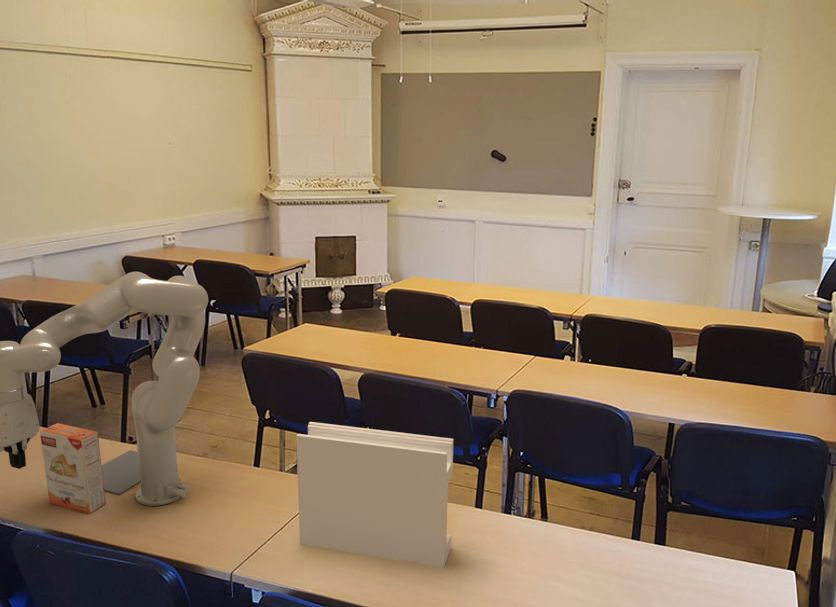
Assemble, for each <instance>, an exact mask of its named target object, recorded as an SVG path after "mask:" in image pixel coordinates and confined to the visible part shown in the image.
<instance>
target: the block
mask: <svg viewBox="0 0 836 607" xmlns="http://www.w3.org/2000/svg"><path fill="white" fill-rule="evenodd" d="M295 437H296V463H297V464H296V466H297V467H296V470H297V496H298V500H297V501H298V522H299V544H300V545H304V546H308V547H315V548H320V549H327V550H334V551H340V552H346V553H351V554H357V555H359V554H360V555H364V556H370V557H375V558H381V559H389V560H393V561H401V562H406V563H412V564H417V565H418V564H419V565H425V566H431V567H438V568H444V567H445V565H446V563H447V559H448V556H449V554H450V551H451V548H452V534H450V533H449V534H448V532H447V531H448V491H449V484H450V481H451V479H452V476H453V475H454V469H453V466H454V438H450V437H440V436H431V435H423V434H415V433H406V432H398V431H391V430H382V429H375V428H374V429H373V428H366V427H365V428H364V427H356V426H349V425H339V424H330V423H324V422H314V421H309V422H308V425H307V434H302V433H297V434H296V435H295Z"/></svg>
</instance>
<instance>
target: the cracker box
mask: <svg viewBox="0 0 836 607" xmlns="http://www.w3.org/2000/svg"><path fill="white" fill-rule="evenodd" d="M39 434H40V435H39V436H40V442H41V450H42V457H43V465H44V466H43V467H44V470H45V471H44V474H45V479H46V481H45V482H46V489H47V496H48V502H49V503H50V504H52V505H56V506H58V507H63V508H67V509H70V510H73V511H76V512H81V513H85V514H87V515H90V514H92V513H94V512H95V511H97V510H99V508H101V507H103V506H105V505H106V504H107V503H106V495H105V493H106V492H105V491H104V484H103V475H102V466H101V465H102V458H101V450H100V448H101V447H100V441H99V440H100V439H99V432H98V431H96V430H91V429H86V428H81V427H76V426H72V425H68V424H63V423H60V422H57V423H55V424H53V425H50V426H48V427H46V428H43V429H42V430H39Z"/></svg>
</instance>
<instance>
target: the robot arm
mask: <svg viewBox="0 0 836 607" xmlns="http://www.w3.org/2000/svg"><path fill="white" fill-rule="evenodd" d="M208 295H209V294H208V292H207V290H205V288H204V286H202V285H201V284H199V283H198V282H195V281H194V280H193V279H191V278H189V277H187V276H184V275H174V276H172V277H170V278H169V279H167V280H162V279H156V278H152V277H150V276H149V275H148V274H145V273H143V272H140V271H131V272H128V273H126V274H124V275H122V276H121V277H119V278H118V279H116V280H115V281H113V282H112V283H110V284H109V285H107V286H105V287H104V288H103V289H101V290H99V291H98V292H97V293H95V294H94V295H92V296H90V297H89V298H88V299H86V300H84V301H83V302H81V303H79V304H76V305H74V306H72V307H69V308H67V309H65V310H63V311H60V312H59V313H57V314H55V315H52V316H51V317H49V318H48V319H47V320H44V321H43V322H42V323H40V324H38V325H37V326H36V327H34V328H33V329H31V330H30V331H28V332H27V333H26V334H25V335H24V336H23V338H22V339H21V341H20V343H18V342H17V341H15V340H14V341H13V340H1V341H0V453H1V452H6V453H8V459H9V464H10V467H12V468H15V469H18V470H20V469H22V468H24V467H26V466H27V458H26V450H27V448H28V444H29V442H30V440H32V439H33V438H34V437H36V436H37V434H38V433H40V422H39V418H38V413H37V409H36V405H35V402H34V400H33V397H32V396H31V394H29V393H28V390H27V389H28V388H27V383H26V382H27V381H26V375H25V374H26V373H45V372H49V371H51V370H53V369H54V368H56V367H57V366H58V365H59V363H60V362H61V359H62V358H61V356H62V355H61V354H62V353H61V350H60V348H62V347H63V346H64V345H66V344H67V343H69V342H70V341H72V340H74V339H76V338H78V337H81V336H83V335H88V334H97V333H102V332H105V331H107V330H108V329H110V328H112V327H114V326H115V325H116V324H117V323H119V322H120V321H121V320H124V318H126V317H128V316H129V315H130V314H132V313H134V312H135V311H136V312H140V313H142V314H143V313H144V314H150V315H151V314H152V315H160V316H171V320H170V323H169V325H168V328H167V329H166V330H167V331H166V333H165V335H164V337H163V339H162V341H161V343H160V344H159V346H158V347H159V348H158V349H157V351H156V353H155V355H154V357H153V360H152V364H151V365H152V366H151V367H152V369H153V371H154V374H155V375H156V376H157V377H158V380H147V381H144V382H142V383H140V384H139V385H138V386H136V387H135V389H134V390H133V392H132V395H131V400H130V403H131V404H130V406H131V412H132V416H133V421H134V422H133V423H134V428H135V429H134V430H135V438H136V447H137V448H136V449H137V452H138V460H139V471H140V482H141V483H140V487H139V488H138V489H137V490H136V491H135V494H134V495H135V500H136V502H137V503H139V504H142V505H144V506H151V507H153V506H154V507H155V506H164V505H168V504H171V503H173V502H175V501H176V502H177V500H179V499H180V498H185V497H186V496H187V492H188V491H189V489H190V488H189V485H185V484H184V482H182V477H179V473H178V472H179V471H178V460H177V459H178V457H177V446H176V434H175V433H176V432H175V425H176V424H177V423H179V422H180V419H181V418H182V417H183V414H184V412H185V410H186V408H187V406H188V404H189V403H190V400H191V398H192V396H193V394H194V391H195V390H196V388H197V385H198V383H199V380H200V374H201V368H200V367H201V366H200V365H199V362H198V360H197V359H196V358H195V357H194V355H195V352H196V350H197V348H198V345H199V343H200V340H201V338H202V336H203V332H204V331H205V330H204V329H205V326H206V309H207V307H208V303H209V296H208Z"/></svg>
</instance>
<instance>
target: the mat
mask: <svg viewBox="0 0 836 607" xmlns="http://www.w3.org/2000/svg"><path fill="white" fill-rule="evenodd" d="M101 466H102V475H103V484H104V493H108V494H112V495H116V496H119V497H120V496H121V495H123V494H125V493H126V492H129V491H130V490H132V489H133V488H135V487H136V486H138V485H141V482H140V471H139V460H138V451H134V450H131V449H130V450H128V451H126V452H124V453H122V454H120V455H118V456H117V457H115V458H113V459H111V460H109V461H107V462H106V463H104V464H101Z"/></svg>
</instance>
